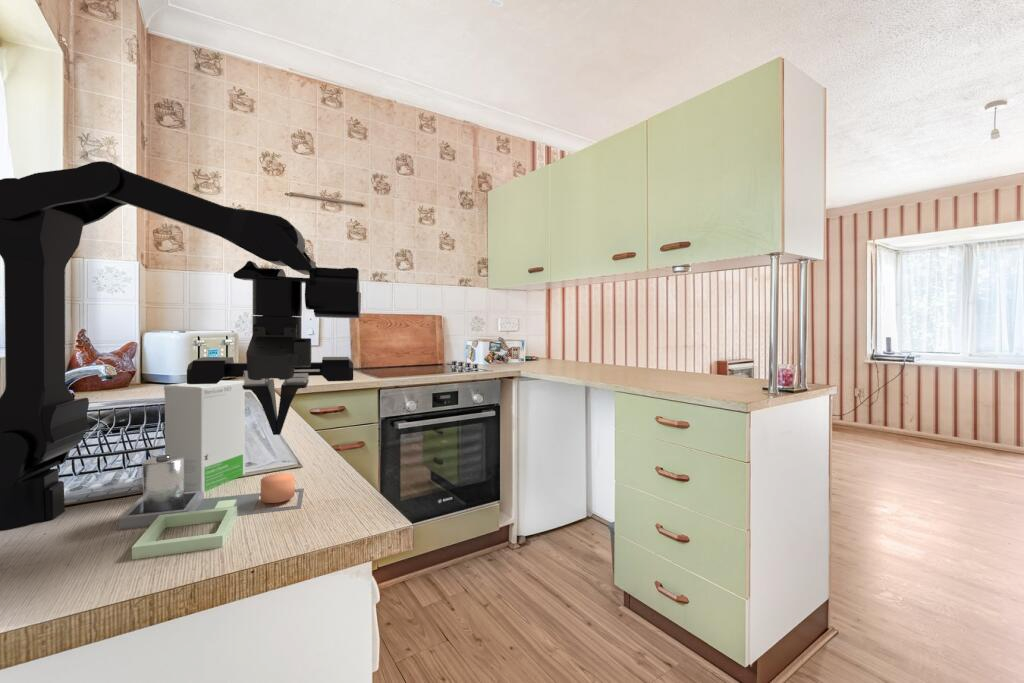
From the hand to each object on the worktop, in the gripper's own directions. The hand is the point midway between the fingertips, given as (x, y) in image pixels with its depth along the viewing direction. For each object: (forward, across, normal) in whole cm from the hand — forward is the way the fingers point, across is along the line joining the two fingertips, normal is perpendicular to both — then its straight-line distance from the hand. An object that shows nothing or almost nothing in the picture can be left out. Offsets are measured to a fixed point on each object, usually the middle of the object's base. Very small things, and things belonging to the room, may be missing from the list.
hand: (277, 434), depth 60 cm
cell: (+9, -12, 0) cm, 15 cm away
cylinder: (+8, 0, 0) cm, 8 cm away
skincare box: (+10, -10, +11) cm, 18 cm away
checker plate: (+10, -7, 0) cm, 12 cm away
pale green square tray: (+10, -8, -8) cm, 15 cm away
